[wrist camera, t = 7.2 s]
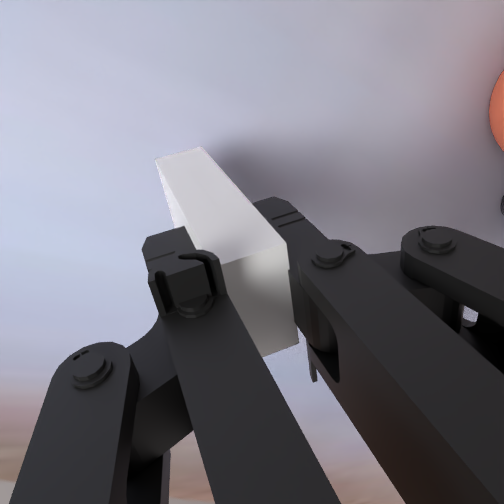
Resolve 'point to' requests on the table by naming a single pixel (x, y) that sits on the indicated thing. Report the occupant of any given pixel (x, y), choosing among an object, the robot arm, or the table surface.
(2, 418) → the table surface
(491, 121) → the ball
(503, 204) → the post
